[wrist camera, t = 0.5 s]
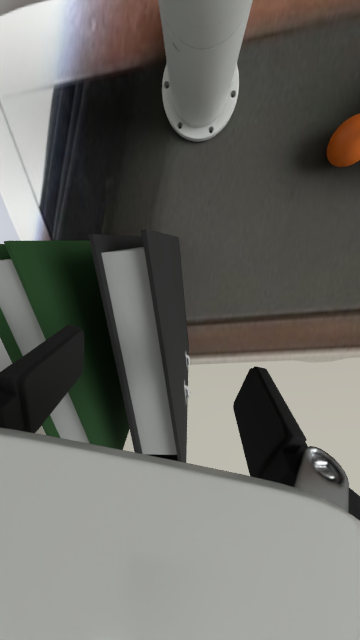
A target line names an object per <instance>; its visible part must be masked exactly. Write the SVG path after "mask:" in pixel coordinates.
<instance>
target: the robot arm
mask: <svg viewBox="0 0 360 640" xmlns="http://www.w3.org/2000/svg"><path fill="white" fill-rule="evenodd" d="M158 1H159V8H160V16H161V23H162V30H163V38H164V45H165V52H166V59H167V64H166V67H165V70H164V75H163V81H162V97H163V104H164V109H165V112H166V115H167V118H168V120H169V122H170V124H171V126H172V127H173V128H174V130H175V131H176V132H177V133H178V134H179V135H180V136H182V137H183V138H185V139H187V140H190V141H196V142H201V141H205V140H208V139H210V138H212V137H214V136H215V135H217V134H218V133H219V132H220V131H221V130H222V129H223V128H224V127H225V125H226V124H227V122H228V121H229V119H230V117H231V115H232V113H233V110H234V107H235V104H236V101H237V97H238V90H239V73H238V67H237V60H238V56H239V52H240V48H241V44H242V40H243V36H244V32H245V28H246V24H247V20H248V17H249V13H250V9H251V5H252V1H253V0H158ZM167 87H168V88H167ZM166 88H167V89H166ZM231 96H233V98H232V97H231ZM179 127H181V129H179ZM209 131H212V133H209ZM83 362H84V331H83V330H81V328H80V327H78V326H73V325H67V326H65V327H64V328H63V329H61V330H60V331H58V332H57V333H55V334H54V335H53V336H51V337H50V338H48V339H47V340H45V341H44V342H43V343H41V344H40V345H38V346H37V347H35V348H34V349H33V350H31V351H30V352H28V353H27V354H26V355H24V356H23V357H21V358H20V359H18V360H17V361H16V362H14V363H13V364H11V365H10V366H8V367H7V368H6V369H4V370H3V371H1V372H0V640H360V496H359V495H357V494H356V493H355V492H354V491H353V490H351V489H350V488H349V482H348V478H347V476H346V474H345V472H344V470H343V469H342V467H341V466H340V465H339V464H338V462H336V460H335V459H334V458H333V457H331V456H330V455H329V454H328V453H326V452H325V451H323V450H321V449H319V448H317V447H312V446H310V447H308V446H307V444H306V443H305V441H306V438H305V436H304V434H303V432H302V431H301V429H300V428H299V425H298V424H297V422H296V420H295V418H294V417H293V415H292V413H291V412H290V410H289V408H288V406H287V404H286V403H285V401H284V399H283V397H282V396H281V394H280V392H279V390H278V389H277V387H276V385H275V383H274V382H273V380H272V378H271V376H270V375H269V373H268V371H267V370H266V369H264V368H260V367H254V368H251V369H250V370H249V372H248V374H247V376H246V379H245V381H244V383H243V385H242V387H241V389H240V391H239V393H238V395H237V397H236V399H235V401H234V412H235V417H236V421H237V424H238V429H239V433H240V437H241V441H242V445H243V449H244V453H245V457H246V461H247V465H248V469H249V473H250V476H246V475H242V474H237V473H232V472H227V471H223V470H218V469H213V468H208V467H203V466H198V465H193V464H188V463H184V462H179V461H174V460H169V459H164V458H159V457H154V456H149V455H144V454H139V453H134V452H129V451H124V450H119V449H114V448H109V447H104V446H99V445H94V444H89V443H83V442H78V441H73V440H68V439H63V438H58V437H53V436H47V435H41V434H36V433H35V432H36V431H37V430H38V429H39V428H40V427H41V425H42V424H43V423H44V422H45V420H46V419H47V418H48V417H49V415H50V414H51V413H52V412H53V410H54V409H55V408H56V407H57V405H58V404H59V403H60V402H61V400H62V399H63V398H64V397H65V395H66V394H67V393H68V392H69V390H70V389H71V388H72V387H73V385H74V384H75V383H76V382H77V380H78V379H79V378H80V377H81V375H82V373H83Z"/></svg>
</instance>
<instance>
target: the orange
mask: <svg viewBox="0 0 360 640" xmlns="http://www.w3.org/2000/svg"><path fill="white" fill-rule="evenodd" d="M327 158H328V161H329V162H330V163H331V164H332V165H334V166H336V167H346V166H349V165H352V164H354V163H356V162H358V161H359V160H360V114H357V115H355V116H352V117H351V118H349V119H347V120H346V121H345V122H343V123H342V124H341V125H340V126H339V127H338V128H337V129H336V131H335V132H334V133H333V135H332V137H331V139H330V141H329V143H328V146H327Z"/></svg>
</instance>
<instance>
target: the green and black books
mask: <svg viewBox="0 0 360 640" xmlns="http://www.w3.org/2000/svg"><path fill="white" fill-rule="evenodd" d="M141 232H142V237H130V236H115V235H99V234H88V237H89V241H4V243H5V244H0V338H1V340H2V342H3V344H4V346H5V349H6V351H7V353H8V355H9V357H10V359H11V361H12V363H14V362H16V361H17V360H18V359H20V358H21V357H23V356H24V355H26V354H27V353H28V352H30V351H31V350H33V349H34V348H35V347H37V346H38V345H40V344H41V343H43V342H44V341H45V340H47V339H48V338H50V337H51V336H53V335H54V334H55V333H57V332H58V331H60V330H61V329H63V328H64V327H65V326H67V325H73V326H78V327H80V328H81V330H83V331H84V362H83V373H82V375H81V377H80V378H79V379H78V380H77V382H76V383H75V384H74V385H73V387H72V388H71V389H70V390H69V392H68V393H67V394H66V395H65V397H64V398H63V399H62V400H61V402H60V403H59V404H58V405H57V407H56V408H55V409H54V410H53V412H52V413H51V414H50V415H49V417H48V418H47V419H46V420H45V422H44V423H43V424H42V426H43V429H44V431H45V433H46V435H47V436H53V437H58V438H63V439H68V440H73V441H78V442H83V443H89V444H94V445H99V446H104V447H109V448H114V449H119V450H123V447H124V444H125V441H126V438H127V435H128V431H129V429H130V432H131V436H132V441H133V446H134V451H135V453H139V454H144V455H149V456H154V457H159V458H164V459H169V460H174V461H179V462H184V463H186V443H187V399H188V398H189V395H190V390H189V388H188V366H189V364H190V358H189V356H188V352H189V344H188V333H187V323H186V312H185V301H184V291H183V280H182V270H181V259H180V249H179V238H178V237H175V236H171V235H167V234H163V233H159V232H155V231H151V230H147V229H144V230H141ZM188 360H189V362H188Z"/></svg>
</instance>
